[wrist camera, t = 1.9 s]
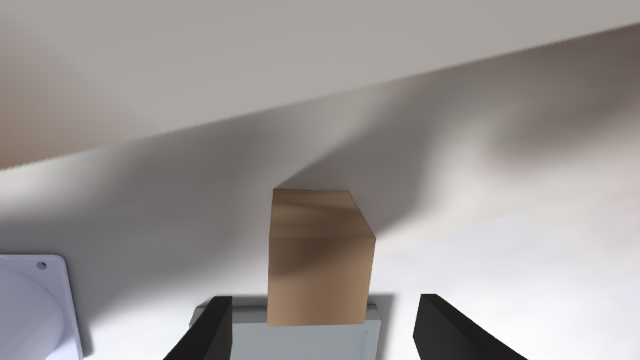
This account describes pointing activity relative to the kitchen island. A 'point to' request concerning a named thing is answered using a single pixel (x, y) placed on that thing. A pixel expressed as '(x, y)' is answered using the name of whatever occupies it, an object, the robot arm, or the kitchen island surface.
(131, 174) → the kitchen island surface
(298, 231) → the walnut block
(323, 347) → the grey tray
